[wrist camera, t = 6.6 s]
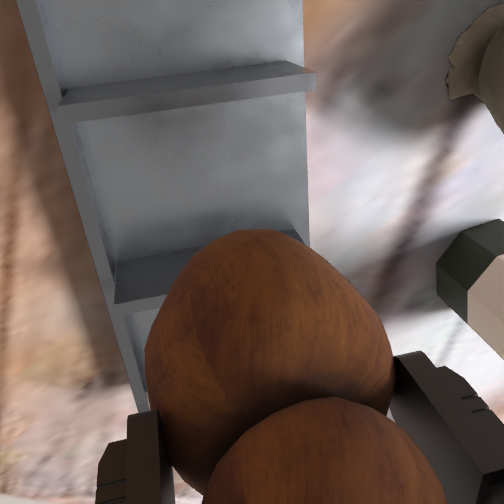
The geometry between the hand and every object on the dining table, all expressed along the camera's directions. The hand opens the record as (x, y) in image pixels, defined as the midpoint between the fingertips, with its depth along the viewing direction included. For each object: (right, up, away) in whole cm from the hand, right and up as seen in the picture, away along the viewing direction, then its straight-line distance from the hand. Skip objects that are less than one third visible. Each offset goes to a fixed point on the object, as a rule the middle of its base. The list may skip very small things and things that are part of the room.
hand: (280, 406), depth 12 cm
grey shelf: (-4, +9, +18) cm, 20 cm away
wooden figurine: (-1, +3, +5) cm, 6 cm away
